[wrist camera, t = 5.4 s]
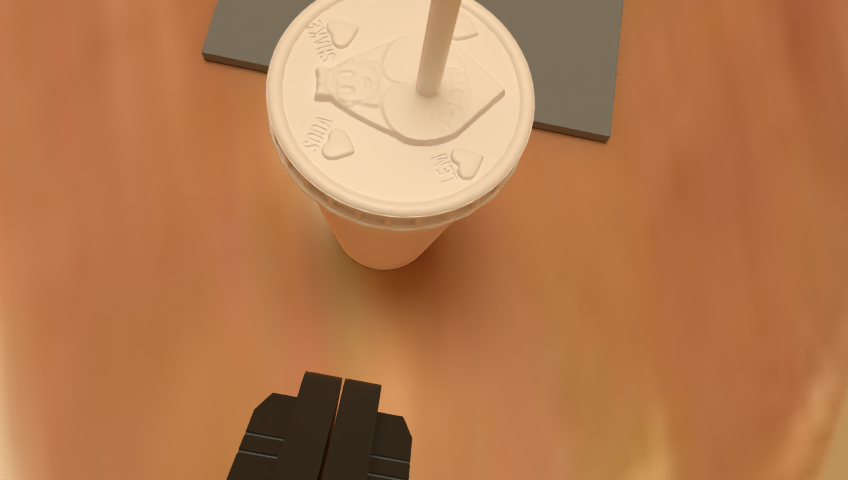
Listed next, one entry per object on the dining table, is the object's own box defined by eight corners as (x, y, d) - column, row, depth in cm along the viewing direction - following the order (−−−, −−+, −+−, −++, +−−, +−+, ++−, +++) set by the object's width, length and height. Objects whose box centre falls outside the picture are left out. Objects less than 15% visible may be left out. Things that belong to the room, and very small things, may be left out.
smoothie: (472, 308, 24) (620, 137, 11) (291, 306, 24) (213, 122, 10) (467, 145, 26) (589, -171, 13) (299, 139, 25) (243, -201, 12)
